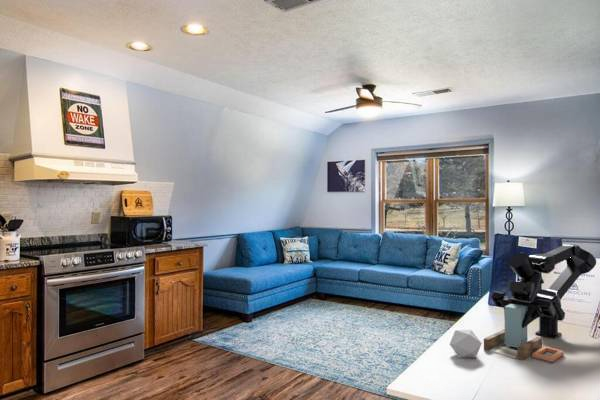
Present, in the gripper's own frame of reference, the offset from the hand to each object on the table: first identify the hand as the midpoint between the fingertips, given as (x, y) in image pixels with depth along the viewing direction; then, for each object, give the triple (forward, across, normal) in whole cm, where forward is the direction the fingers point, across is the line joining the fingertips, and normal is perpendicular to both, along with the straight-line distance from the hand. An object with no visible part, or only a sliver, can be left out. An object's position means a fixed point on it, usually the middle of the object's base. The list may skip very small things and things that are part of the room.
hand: (514, 325), depth 138 cm
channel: (+6, 0, +5) cm, 8 cm away
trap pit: (+5, +10, +6) cm, 13 cm away
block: (+4, 0, +6) cm, 7 cm away
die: (+18, -7, -7) cm, 20 cm away
